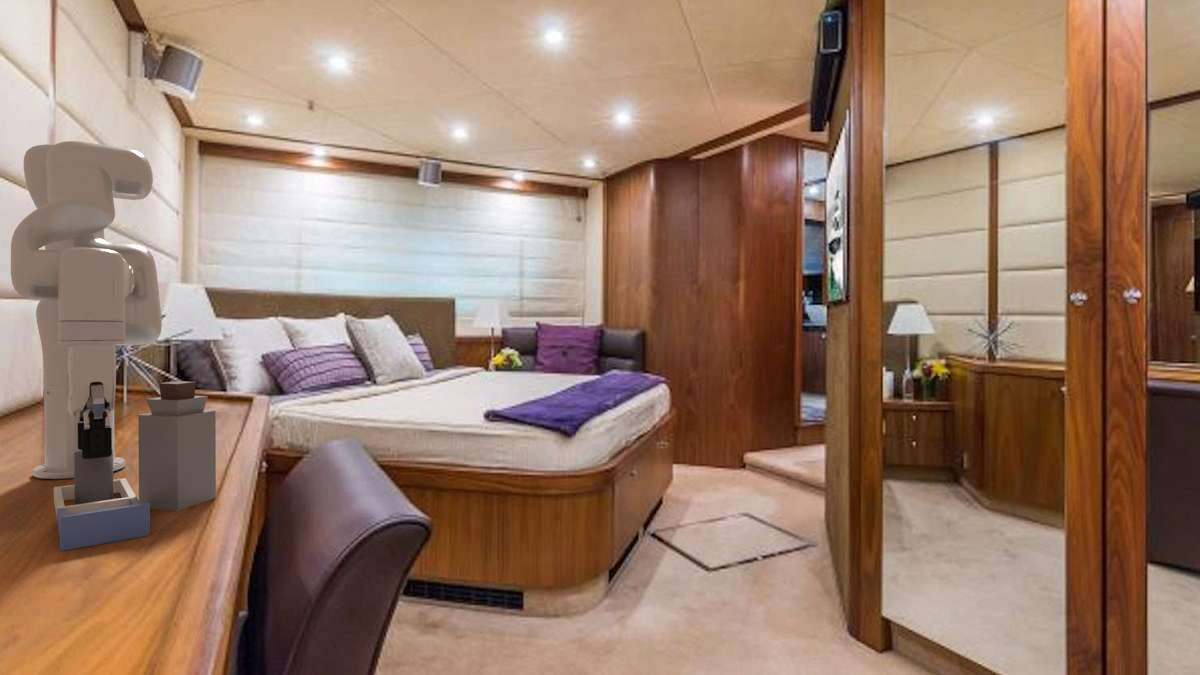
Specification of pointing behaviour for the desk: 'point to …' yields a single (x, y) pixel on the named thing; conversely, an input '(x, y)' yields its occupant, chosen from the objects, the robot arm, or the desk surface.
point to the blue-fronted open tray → (100, 517)
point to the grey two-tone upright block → (93, 479)
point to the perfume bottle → (177, 449)
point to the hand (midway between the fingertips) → (94, 452)
